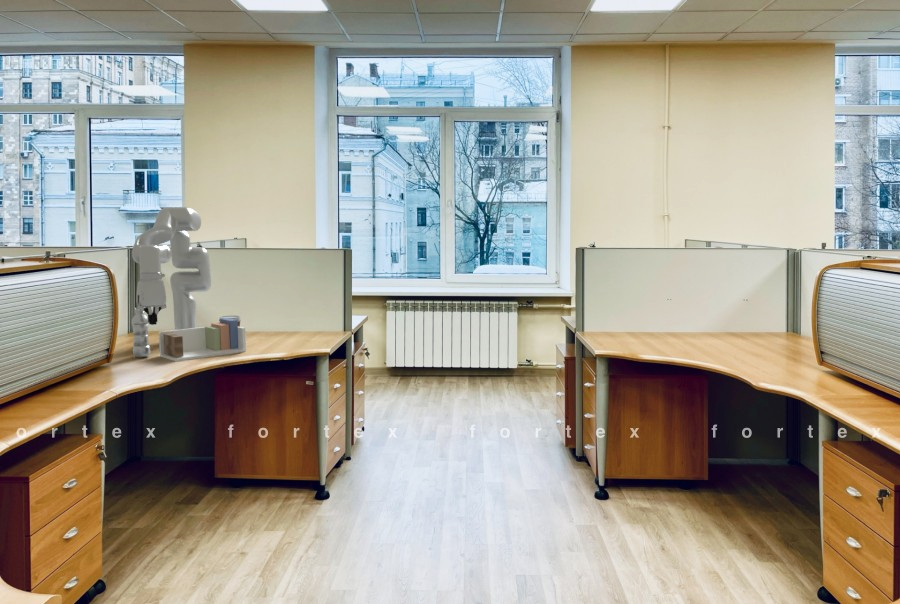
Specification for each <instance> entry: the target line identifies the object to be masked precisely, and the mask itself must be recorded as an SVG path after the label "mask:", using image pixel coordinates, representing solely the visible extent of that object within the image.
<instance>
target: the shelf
mask: <svg viewBox="0 0 900 604" xmlns="http://www.w3.org/2000/svg"><path fill="white" fill-rule="evenodd" d="M219 320H220V321H219V322H212V323H210V325H209V326H202V327H197V328H190V329H181V330H175V329H173V330H163V331H158V344H159V357H160V358H163V359H167V360H170V361H173V362H182V361H187V360H188V361H190V360H195V359H202V358H209V357H210V358H211V357H216V356H223V355H232V354H239V353H245V352H247V349H246V348H247V347H246V346H247V345H246V344H247V343H246V341H247V340H246V327H243V326H240V327H238V322H237V320H234V319H229V318H221V319H220V318H219ZM168 333H172V334H176V335H180V336H182V337H183V356H182V357H173V356H170V355H167V354H165V353H164V334H168Z"/></svg>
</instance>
